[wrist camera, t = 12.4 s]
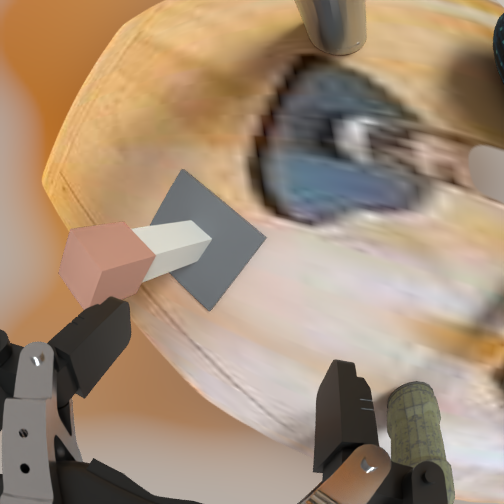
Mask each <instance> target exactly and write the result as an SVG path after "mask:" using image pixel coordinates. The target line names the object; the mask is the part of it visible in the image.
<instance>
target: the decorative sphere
mask: <svg viewBox="0 0 504 504" xmlns="http://www.w3.org/2000/svg"><path fill="white" fill-rule="evenodd" d="M493 50H494V56H495V62H496V66H497V69H498V72H499V74H500V77H501V79H502V81H503V83H504V13H503V14H502V15H501V16H500V17H499V19H498V21H497V24H496V26H495V30H494V36H493Z"/></svg>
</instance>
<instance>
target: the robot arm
mask: <svg viewBox="0 0 504 504" xmlns="http://www.w3.org/2000/svg"><path fill="white" fill-rule="evenodd" d="M294 1H295V3H296V5H297V8H298V10H299V13H300V15H301V17H302V20H303V22H304V25H305V28H306V30H307V33H308V36H309V38H310V40H311V42H312V43H313V44H314V46H316V47H317V48H318V49H320V50H322V51H324V52H326V53H329V54H334V55H346V54H351V53H353V52H356V51H357V50H359V49H360V48H361V47H362V46H363V45H364V43H365V41H366V5H365V0H294ZM130 323H131V322H130V307H129V304H128V302H126V301H123V300H121V299H118V298H115V297H113V296H110V297H108V298H107V299H106V300H105V301H104V302H103V303H101V304H100V305H99V304H96V305H93V306H91V307H88V308H86V309H85V310H84V311H83V312H82V313H80V314H79V315H78V317H76V318H75V319H73V320H72V322H71V323H69V324H68V325H67V326H66V327H64V328H63V329H62V330H61V331H60V332H59V333H58V334H57V335H55V336H54V337H53V338H52V339H51V340H50V341H49V342H48V343H44V342H33V343H30V344H28V345H26V346H25V347H22V346H18V345H15V344H12V343H10V341H9V339H8V336H7V334H6V333H5V332H4V331H2V330H0V431H1V430H2V470H3V474H0V504H202V503H199V502H195V501H189V500H180V499H172V498H165V497H159V496H154V495H152V494H150V493H149V492H147V491H146V490H145V489H143V488H142V487H140V486H139V485H138V484H136V483H135V482H133V481H132V480H131V479H129V478H128V477H127V476H126V475H124V474H123V473H121V472H119V471H117V470H115V469H113V468H111V467H109V466H107V465H105V464H103V463H101V462H99V461H97V460H96V459H94V458H93V460H92V461H91V463H85V462H83V461H82V457H81V454H80V451H79V448H78V446H77V442H76V436H75V427H74V417H73V402H72V399H71V398H72V396H73V395H74V394H75V393H76V394H78V395H79V396H81V397H83V398H86V396H87V395H88V394H89V393H90V391H91V390H92V388H93V387H94V386H95V385H96V384H97V382H98V381H99V380H100V379H101V377H102V376H103V375H104V373H105V372H106V371H107V370H108V369H109V367H110V366H111V365H112V363H113V362H114V361H115V360H116V358H117V357H118V356H119V355H120V354H121V353H122V351H123V350H124V349H125V348H126V346H127V345H128V343H129V341H130V338H131V324H130ZM373 409H374V407H373V402H372V395H371V389H370V387H369V386H368V384H367V382H366V381H365V379H364V378H361V377H357V375H356V368H355V364H354V363H353V362H347V361H341V360H336V359H335V360H333V362H332V363H331V365H330V367H329V369H328V371H327V373H326V375H325V377H324V379H323V381H322V383H321V385H320V387H319V390H318V393H317V398H316V426H315V448H314V465H313V472H317V473H323V480H322V481H321V482H320V483H319V484H318V485H317V486H316V487H315V488H314V489H313V490H312V491H311V492H310V493H309V494H308V495H306V496H305V497H304V498H303V499H302V500H301V501H300V502H299V503H297V504H448V499H447V490H446V483H445V476H444V472H443V470H442V469H441V467H440V466H439V465H438V464H436V463H434V462H431V461H423V462H421V463H419V464H418V465H416V466H415V467H414V468H413V467H409V466H406V465H402V464H399V463H395V462H393V461H391V459H390V457H389V455H388V453H387V452H386V451H385V450H384V449H383V448H381V447H380V446H379V441H378V434H377V427H376V420H375V413H374V411H373Z"/></svg>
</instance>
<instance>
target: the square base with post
mask: <svg viewBox="0 0 504 504" xmlns="http://www.w3.org/2000/svg"><path fill="white" fill-rule="evenodd" d="M131 230H132V231H133V232H134V233H135V234H136V235H137V236H138V237H139V238H140V239H141V240H142V241H143V242H144V243H145V244H146V245H147V247H148V248H149V249H150V250H151V251H152V252H153V253H154V254H155V255H156V257H155V259H154V261H153V262H152V264H151V266H150V268H149V270H148V272H147V274H146V276H145V277H144V279H143V281H142V282H145V281H148V280H150V279H153V278H155V277H158V276H161V275H163V274H166V273H168V272H169V273H170V274H171V275H172V276H173V277H174V278H175V279H176V280H177V281H178V282H179V283H180V284H181V285H182V286H183V287H184V288H185V289H186V290H187V291H188V292H190V293H191V294H192V295H193V296H194V297H195V298H196V299H197V300H198V301H199V302H200V303H201V304H202V305H203V306H204V307H205V308H206V309H207V310H208V311H211V310H212V309H213V307H214V306H215V305H216V303H217V302H218V301H219V300H220V298H221V297H222V296H223V294H224V293H225V292H226V290H227V289H228V288H229V286H230V285H231V284H232V283H233V281H234V280H235V279H236V277H237V276H238V275H239V273H240V272H241V271H242V270H243V268H244V267H245V266H246V264H247V263H248V262H249V260H250V259H251V258H252V256H253V255H254V254H255V253H256V251H257V250H258V249H259V247H260V246H261V245H262V243H263V242H264V241H265V239H266V238H267V237H265V236H264V235H263V234H262V233H261V232H259V231H258V230H257V229H256V228H255V227H253V226H252V225H251V224H250V223H249V222H247V221H246V220H245V219H244V218H243V217H241V216H240V215H239V214H238V213H237V212H235V211H234V210H233V209H232V208H231V207H229V206H228V205H227V204H226V203H225V202H223V201H222V200H221V199H220V198H219V197H217V196H216V195H215V194H214V193H212V192H211V191H210V190H209V189H208V188H206V187H205V186H204V185H203V184H201V183H200V182H199V181H198V180H196V179H195V178H194V177H193V176H192V175H190V174H189V173H188V172H187V171H185V170H183V169H181V171H180V173H179V174H178V176H177V178H176V179H175V181H174V183H173V185H172V186H171V188H170V190H169V192H168V193H167V195H166V197H165V199H164V200H163V202H162V204H161V206H160V208H159V209H158V211H157V213H156V215H155V217H154V219H153V221H152V222H151V224H150V226H146V227H140V228H133V229H131Z"/></svg>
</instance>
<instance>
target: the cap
mask: <svg viewBox="0 0 504 504" xmlns="http://www.w3.org/2000/svg"><path fill="white" fill-rule="evenodd" d="M155 257H156V255H155V254H154V253H153V252H152V251H151V250H150V249H149V248H148V247H147V245H146V244H145V243H144V242H143V241H142V240H141V239H140V238H139V237H138V236H137V235H136V234H135V233H134V232H133V231H132V230H131V229H130V227H129V226H128V225H127V224H126V223H125V222H117V223H109V224H102V225H94V226H87V227H80V228H74V229H70V232H69V235H68V239H67V242H66V246H65V249H64V253H63V257H62V261H61V265H60V269H59V275H60V276H61V278H62V279H63V281H64V282H65V283H66V285H67V287H68V288H69V290H70V291H71V293H72V294H73V295H74V297H75V298H76V300H77V301H78V302H79V304H80V305H81V307H82V308H83V309H84V310H85V309H86V308H88V307H91V306H93V305H96V304H99V305H100V304H101V303H103V302H104V301H105V300H106V299H107V298H108V297H110V296H113V297H115V298H118V299H121V300H122V299H124V298H127V297H129V296H131V295H134V294H136V293H137V291H138V289H139V287H140V285H141V283H142V281H143V279H144V277H145V276H146V274H147V272H148V270H149V268H150V266H151V264H152V262H153V261H154V259H155Z"/></svg>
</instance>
